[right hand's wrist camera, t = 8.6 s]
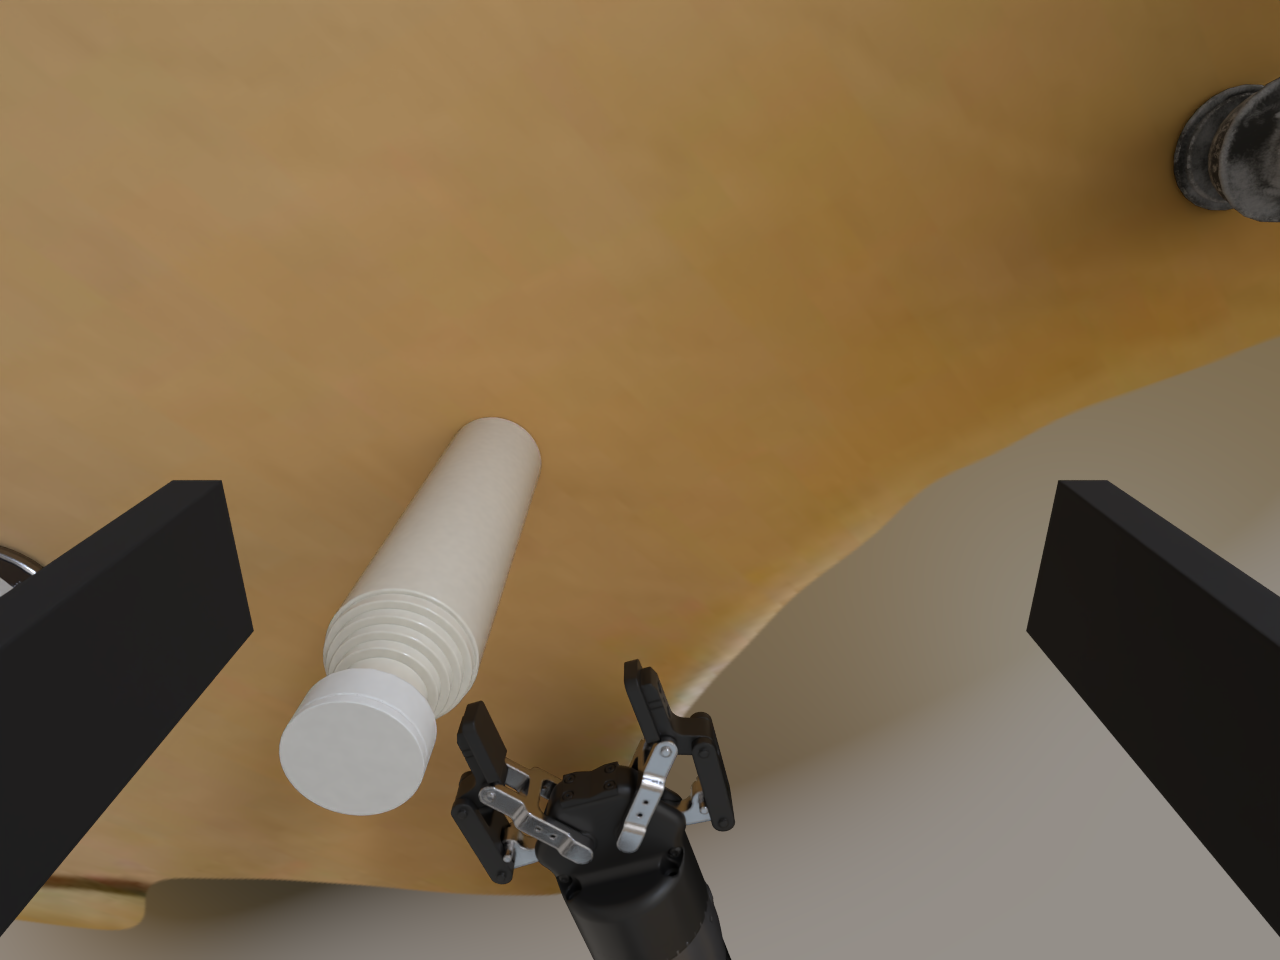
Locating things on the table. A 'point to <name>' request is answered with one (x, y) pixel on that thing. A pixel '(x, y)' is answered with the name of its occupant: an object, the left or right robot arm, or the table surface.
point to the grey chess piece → (1233, 153)
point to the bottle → (442, 568)
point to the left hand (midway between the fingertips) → (549, 691)
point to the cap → (359, 742)
